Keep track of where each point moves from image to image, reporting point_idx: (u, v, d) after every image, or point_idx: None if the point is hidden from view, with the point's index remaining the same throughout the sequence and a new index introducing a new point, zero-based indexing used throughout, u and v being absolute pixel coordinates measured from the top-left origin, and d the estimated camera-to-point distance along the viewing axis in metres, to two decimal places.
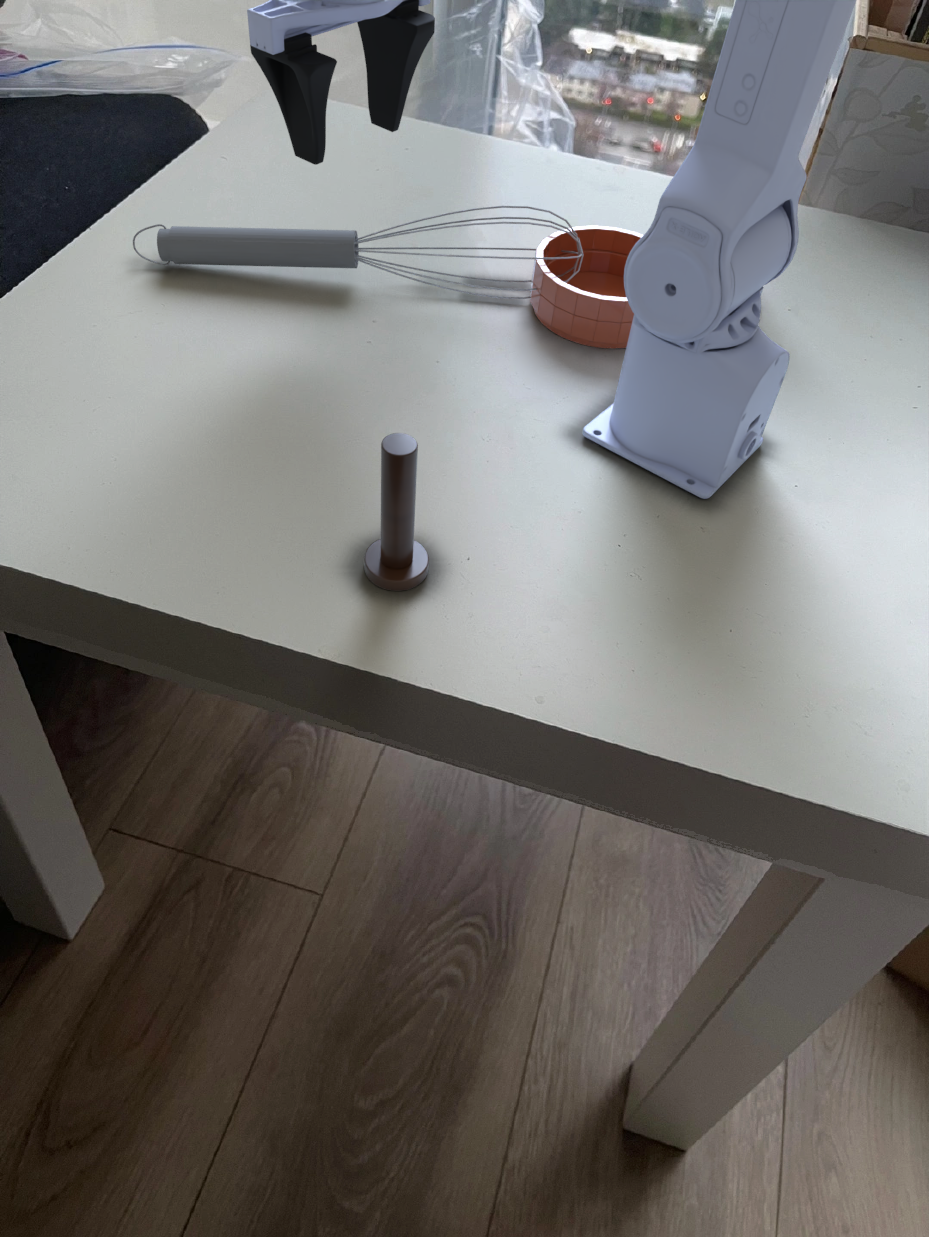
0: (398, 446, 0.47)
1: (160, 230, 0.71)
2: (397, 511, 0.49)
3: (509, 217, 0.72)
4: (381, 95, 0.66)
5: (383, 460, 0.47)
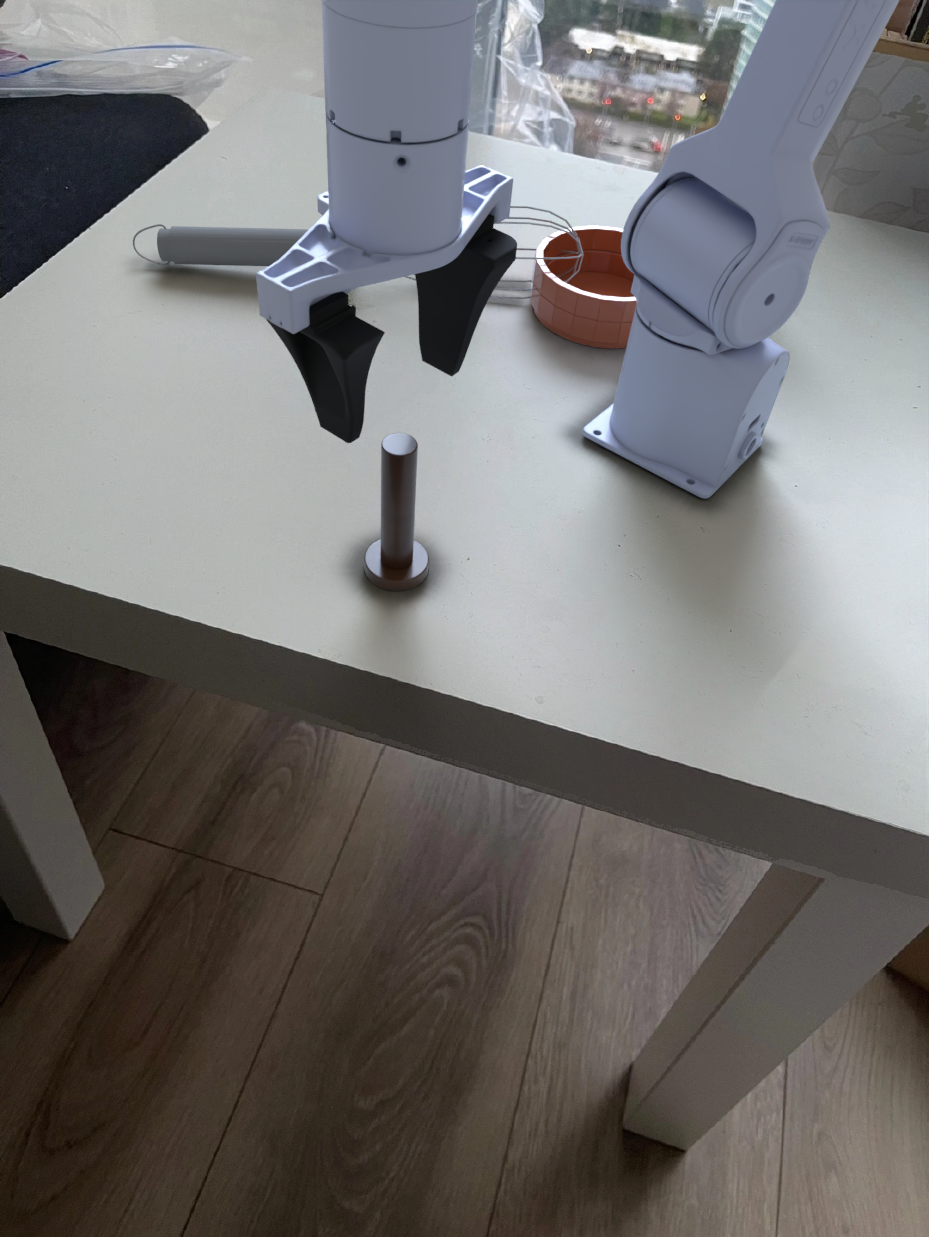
0: (398, 446, 0.47)
1: (160, 230, 0.71)
2: (397, 511, 0.49)
3: (509, 217, 0.72)
4: (438, 331, 0.48)
5: (383, 460, 0.47)
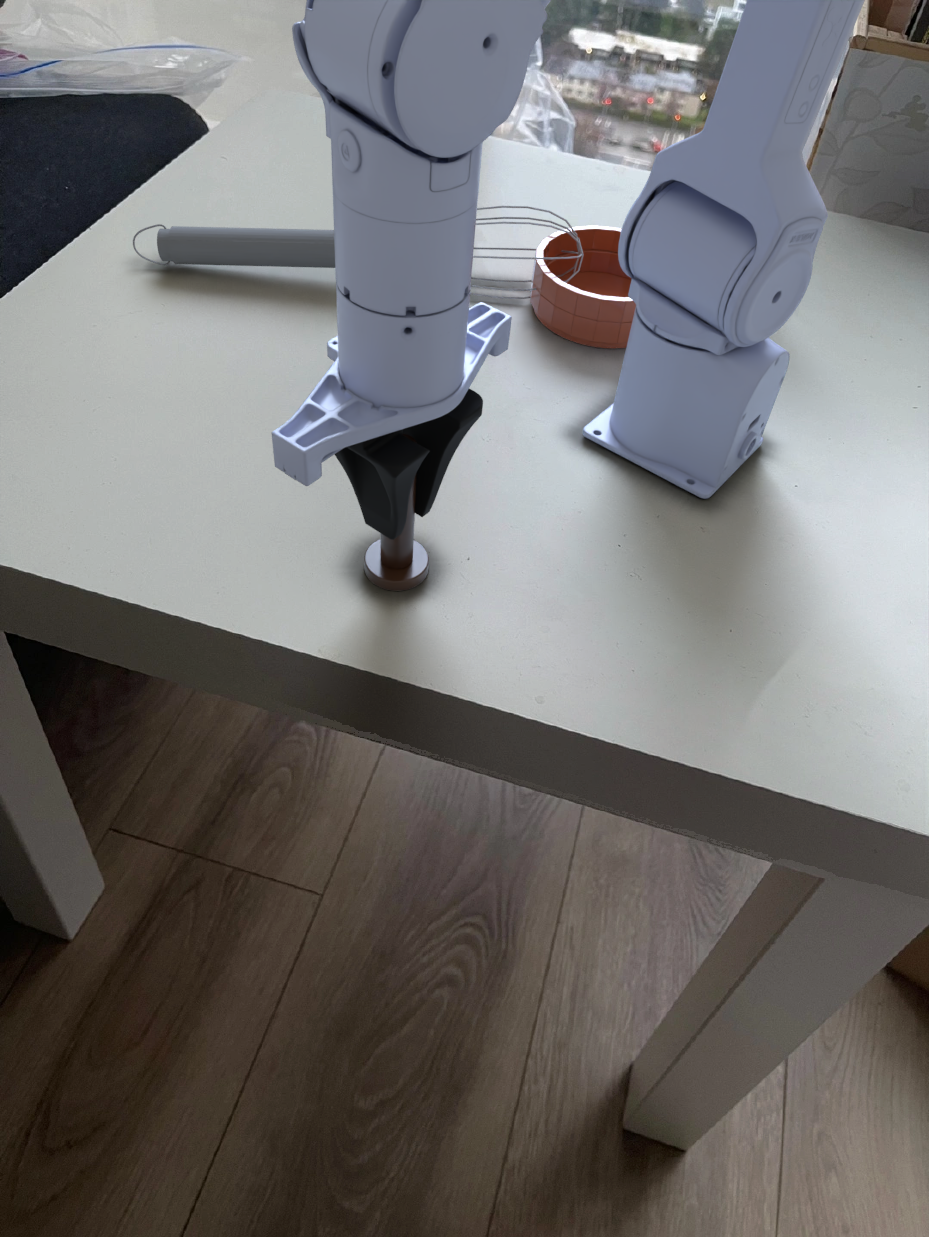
0: None
1: (160, 230, 0.71)
2: None
3: (509, 217, 0.72)
4: None
5: None
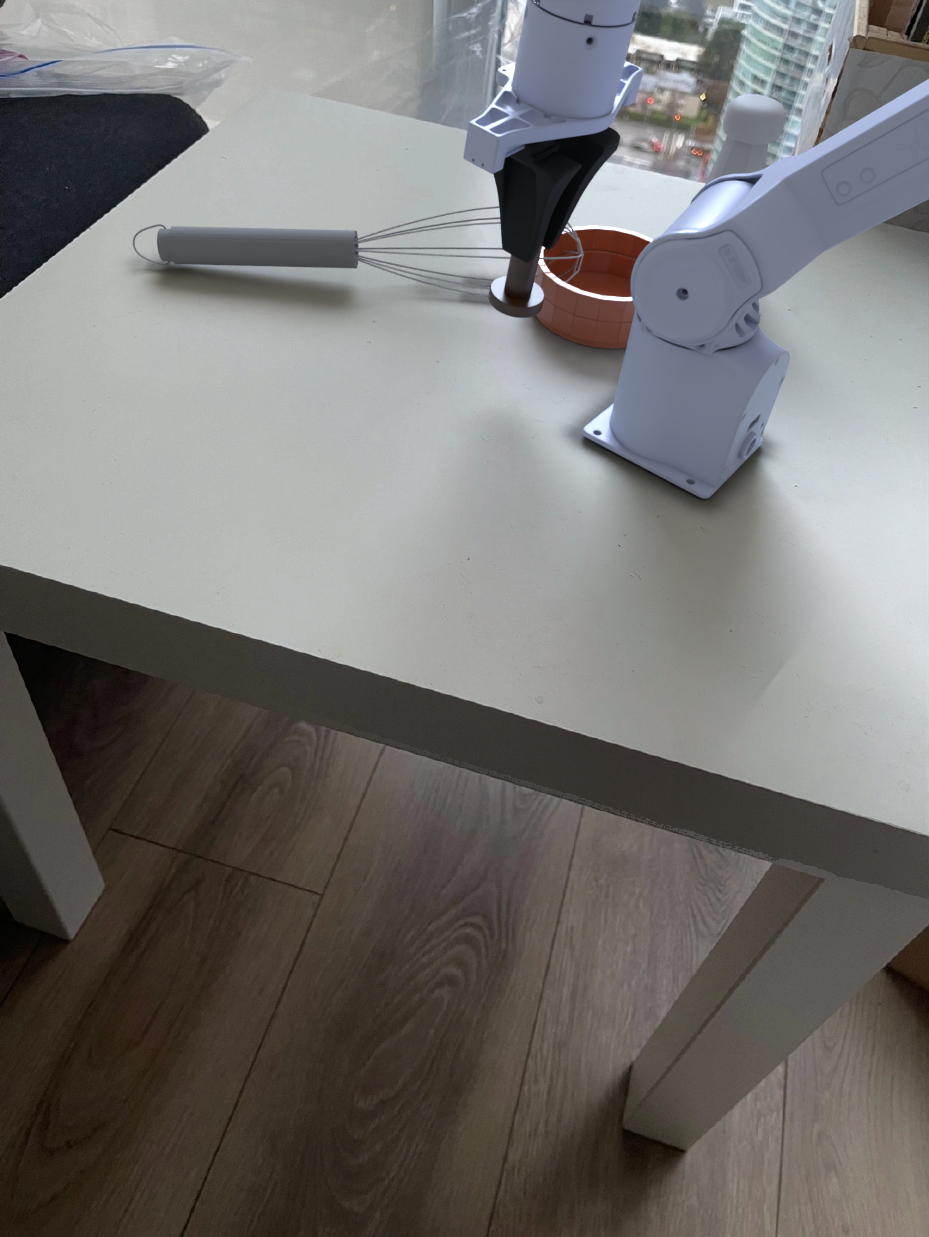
0: None
1: (160, 230, 0.71)
2: None
3: None
4: None
5: None
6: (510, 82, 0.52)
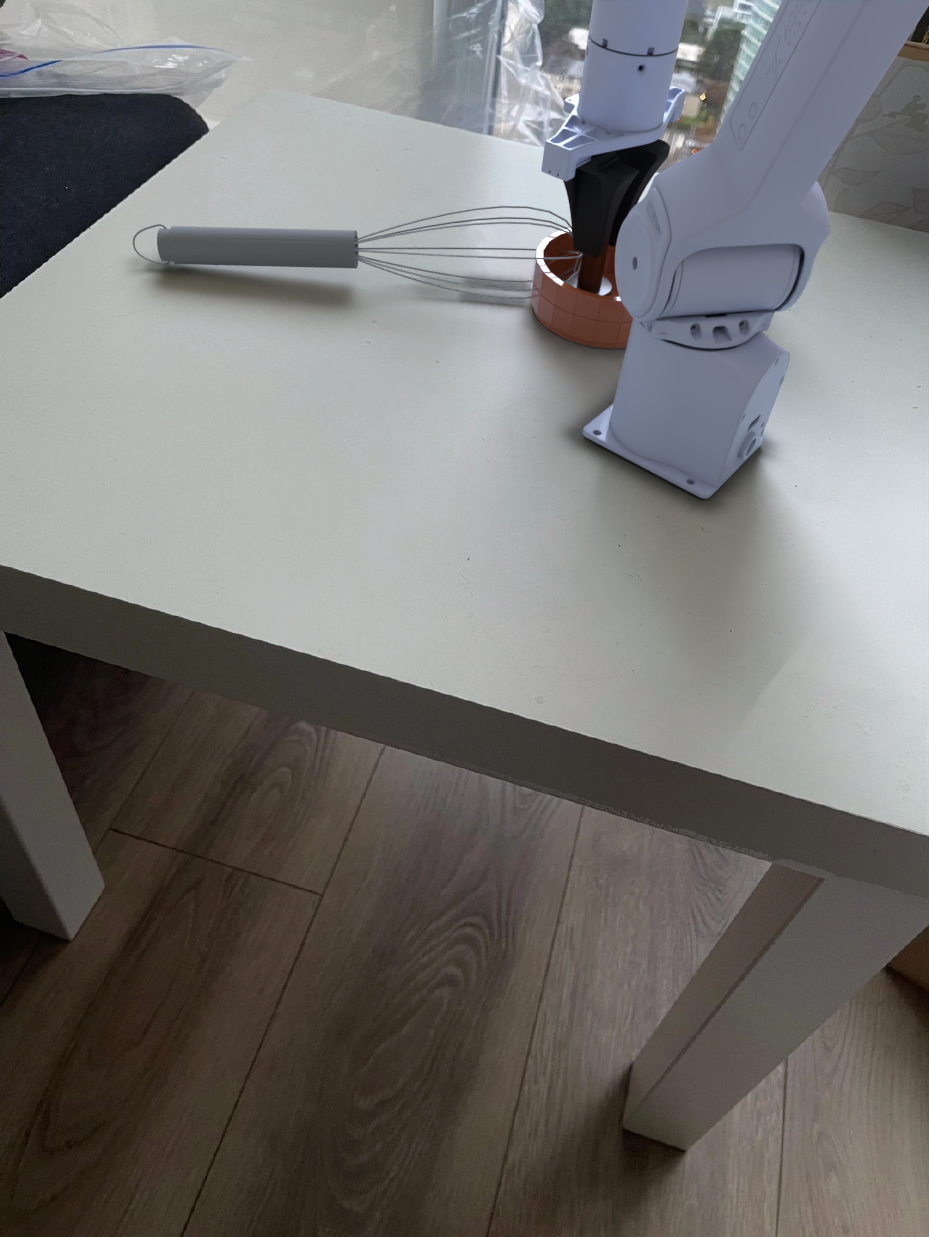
0: None
1: (160, 230, 0.71)
2: None
3: (509, 217, 0.72)
4: None
5: None
6: (576, 108, 0.63)
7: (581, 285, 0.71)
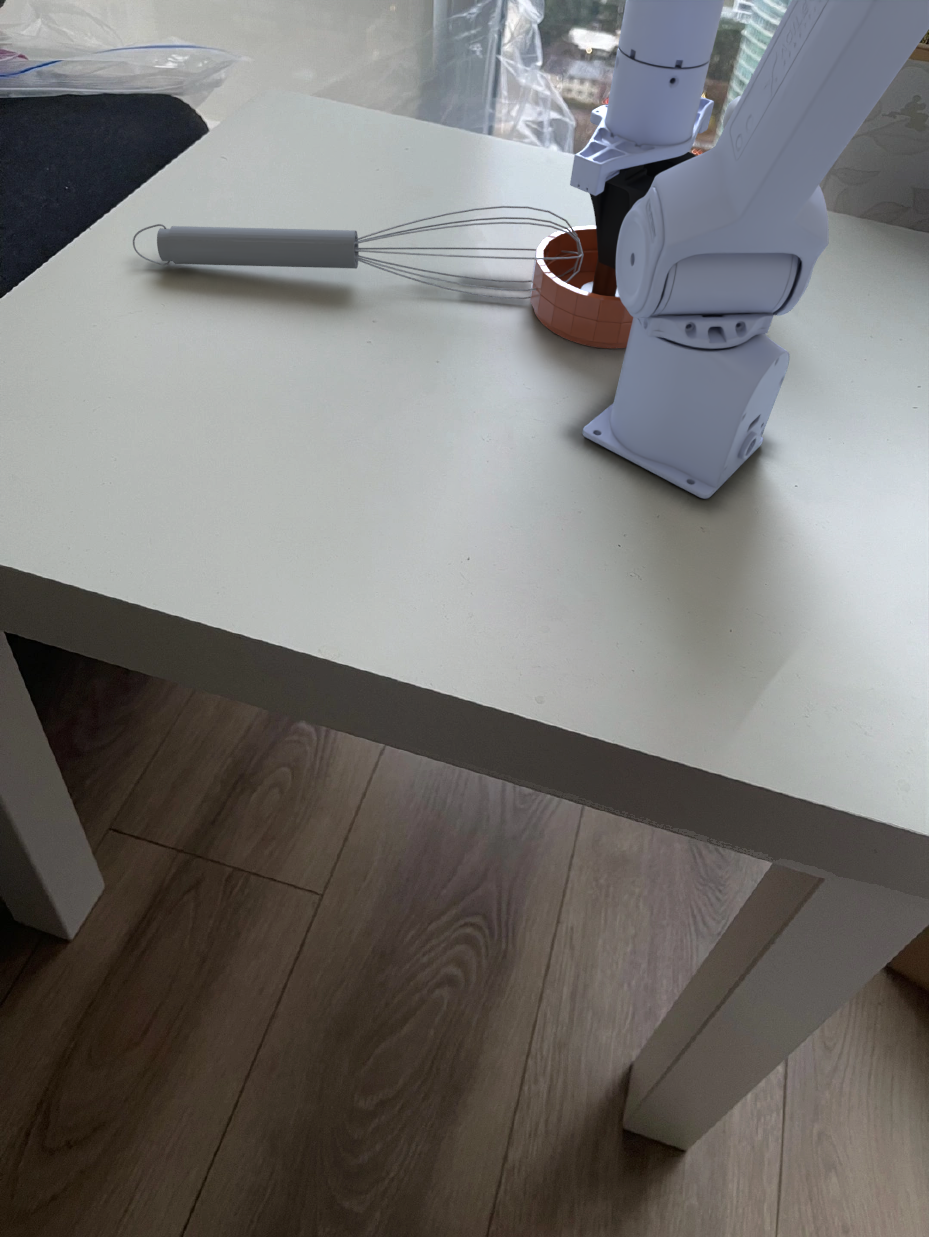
0: None
1: (160, 230, 0.71)
2: None
3: (509, 217, 0.72)
4: None
5: None
6: (603, 120, 0.62)
7: (592, 288, 0.71)
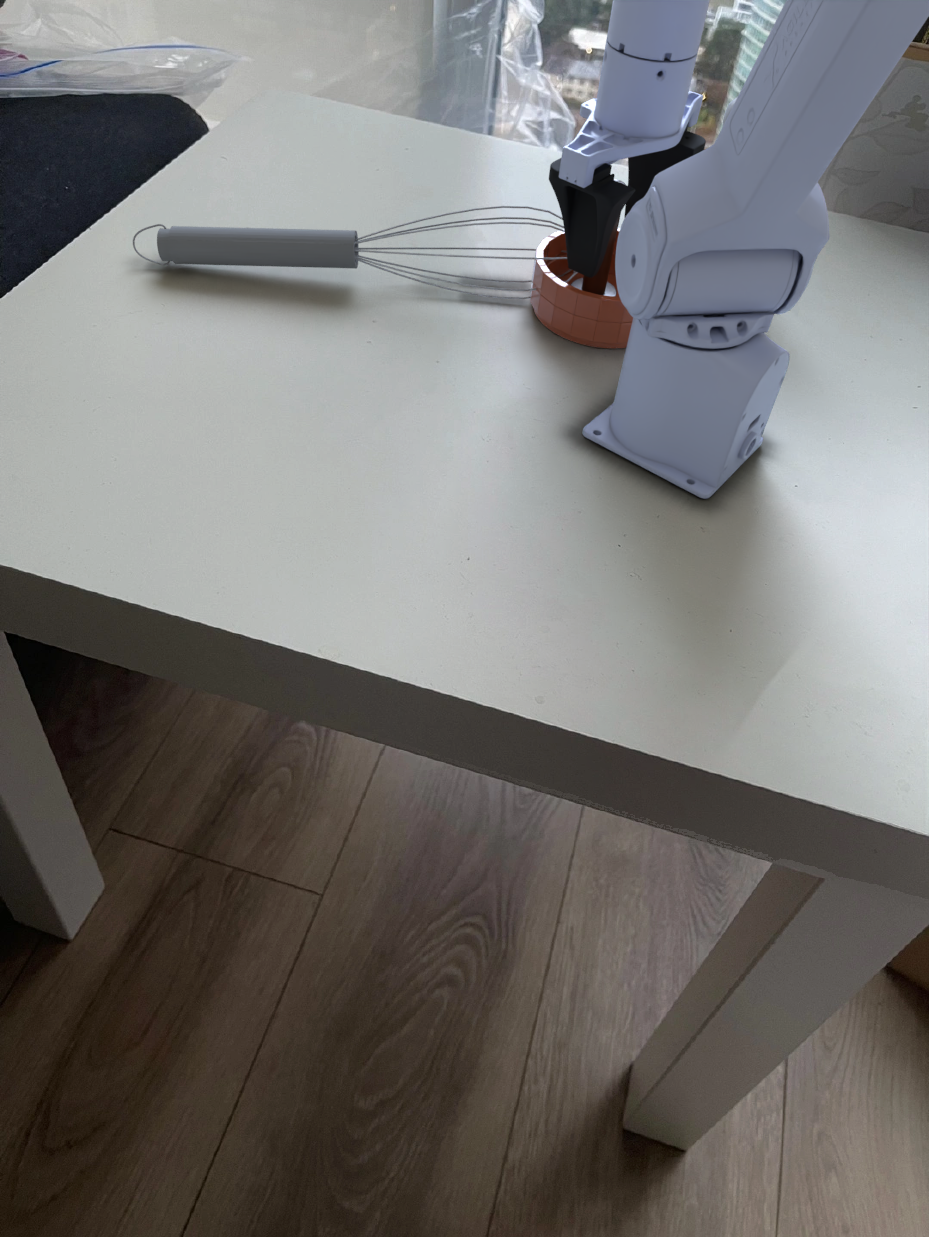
0: None
1: (160, 230, 0.71)
2: None
3: (509, 217, 0.72)
4: None
5: None
6: (593, 114, 0.62)
7: (582, 284, 0.72)
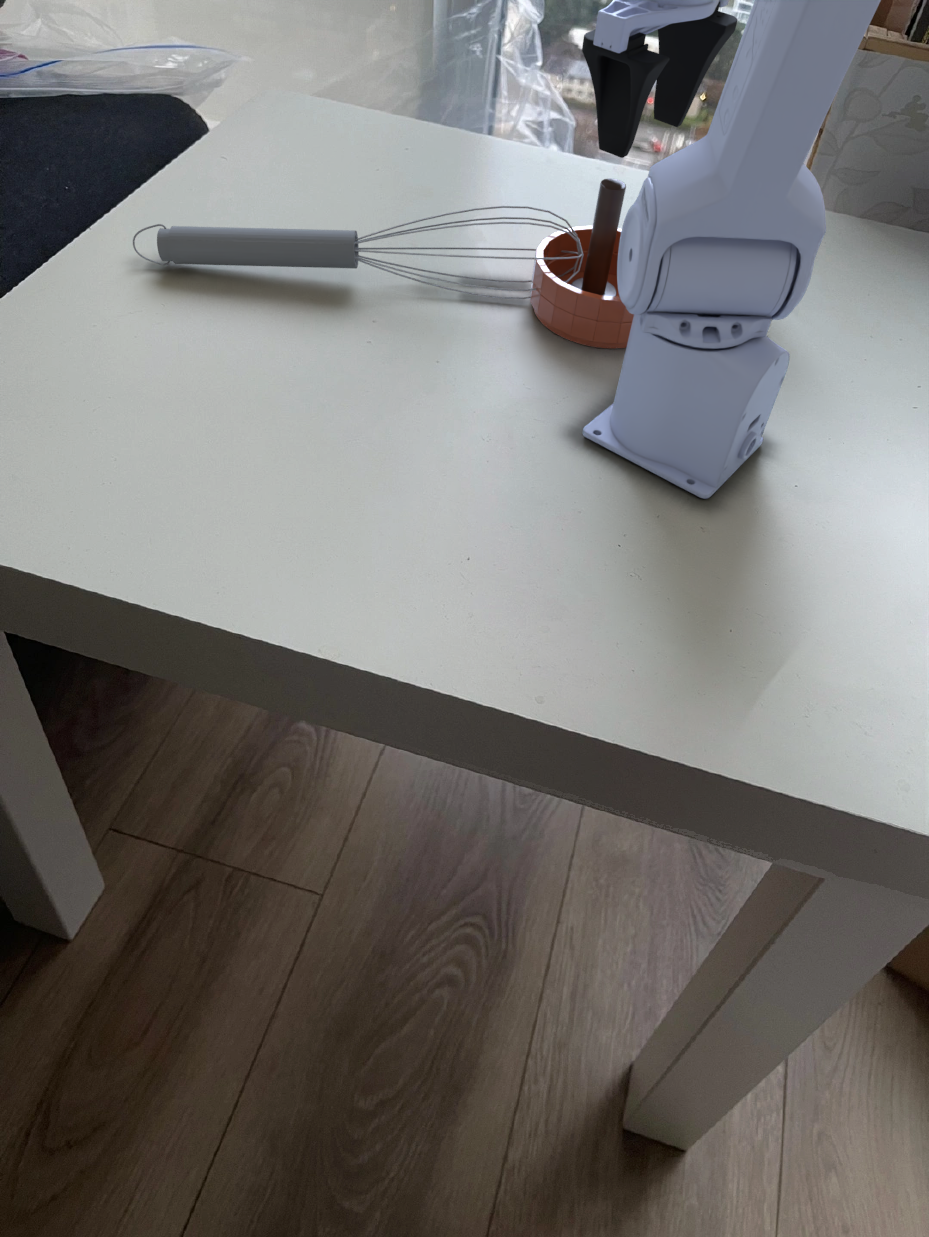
0: (610, 184, 0.66)
1: (160, 230, 0.71)
2: (594, 237, 0.68)
3: (509, 217, 0.72)
4: (671, 92, 0.70)
5: (599, 191, 0.67)
6: None
7: (582, 284, 0.72)
